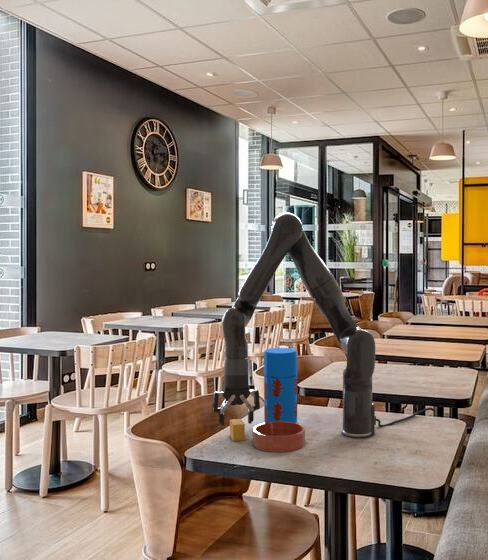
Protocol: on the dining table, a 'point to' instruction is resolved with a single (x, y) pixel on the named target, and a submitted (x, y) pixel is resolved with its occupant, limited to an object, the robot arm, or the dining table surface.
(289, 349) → the thermos
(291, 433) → the bowl
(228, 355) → the robot arm
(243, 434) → the sponge
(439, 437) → the dining table surface
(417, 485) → the dining table surface
